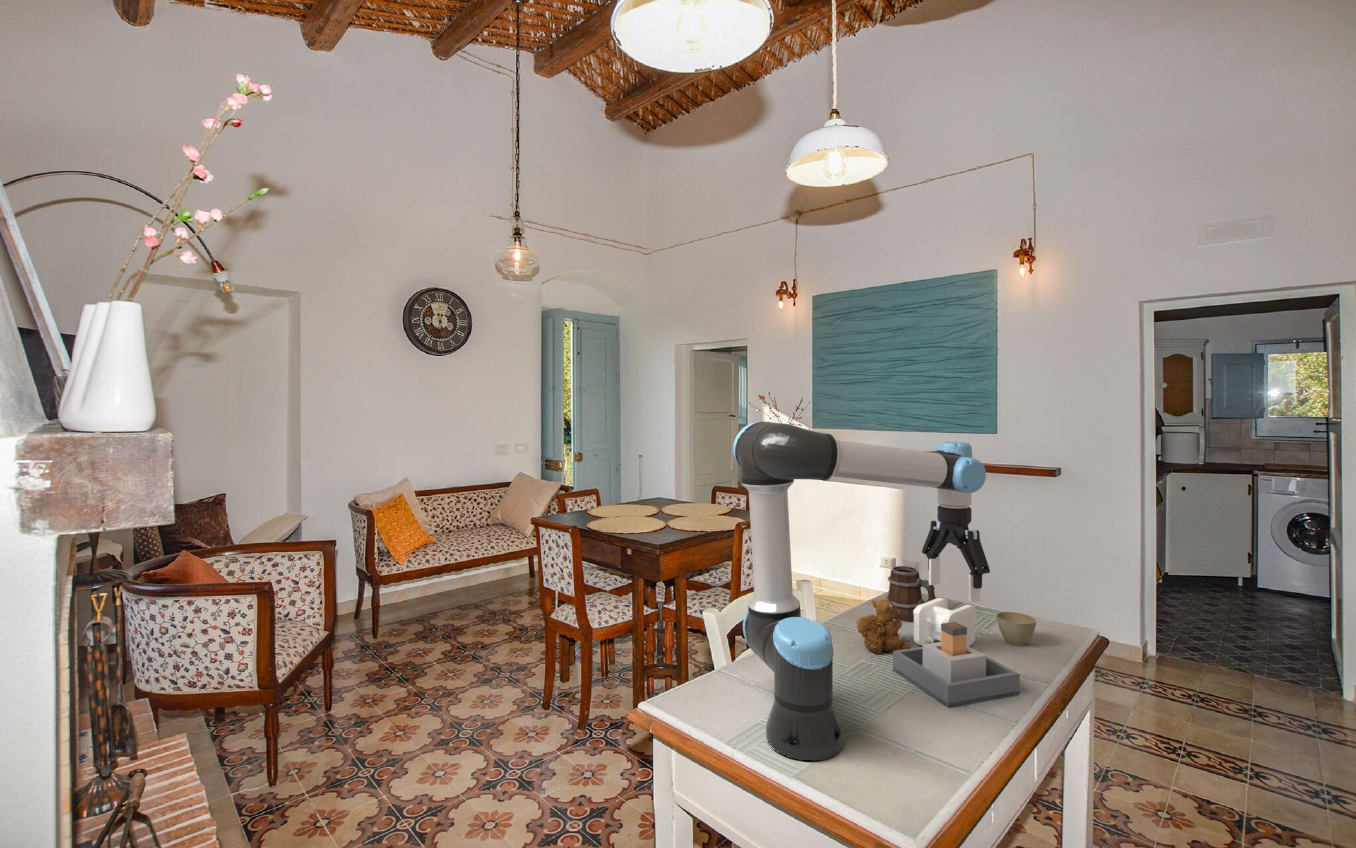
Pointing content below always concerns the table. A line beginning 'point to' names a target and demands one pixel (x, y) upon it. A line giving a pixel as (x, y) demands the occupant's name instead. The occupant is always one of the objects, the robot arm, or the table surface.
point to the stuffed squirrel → (881, 628)
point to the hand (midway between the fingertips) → (953, 592)
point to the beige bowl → (1016, 627)
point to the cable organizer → (941, 620)
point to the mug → (907, 591)
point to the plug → (953, 638)
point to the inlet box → (956, 675)
